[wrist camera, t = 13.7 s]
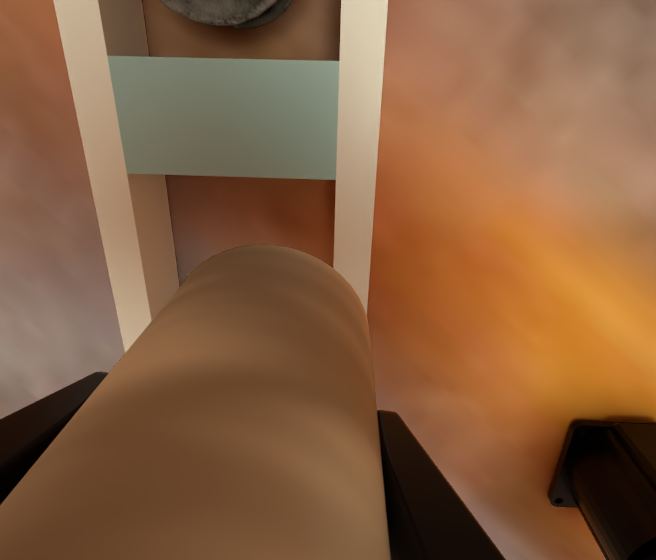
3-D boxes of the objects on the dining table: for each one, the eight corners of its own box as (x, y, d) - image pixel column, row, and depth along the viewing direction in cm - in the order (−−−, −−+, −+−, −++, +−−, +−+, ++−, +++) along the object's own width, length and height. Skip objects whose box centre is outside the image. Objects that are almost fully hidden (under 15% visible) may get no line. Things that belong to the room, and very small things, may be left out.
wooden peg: (387, 261, 10) (589, 1126, 2) (351, 426, 12) (363, 1174, 4) (169, 229, 10) (-756, 992, 2) (172, 401, 12) (-222, 1117, 4)
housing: (360, 345, 23) (362, 386, 20) (159, 336, 24) (129, 375, 20) (398, -264, 14) (412, -369, 11) (62, -264, 14) (-21, -365, 11)
